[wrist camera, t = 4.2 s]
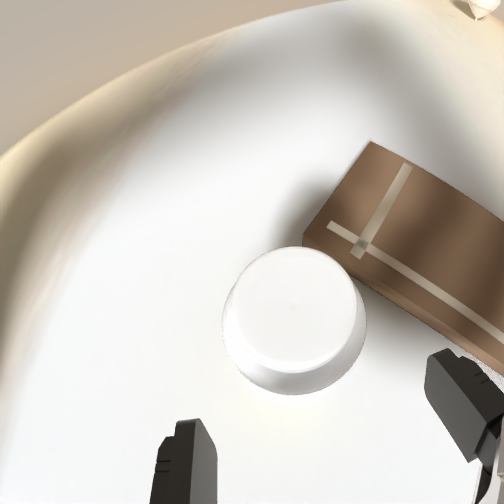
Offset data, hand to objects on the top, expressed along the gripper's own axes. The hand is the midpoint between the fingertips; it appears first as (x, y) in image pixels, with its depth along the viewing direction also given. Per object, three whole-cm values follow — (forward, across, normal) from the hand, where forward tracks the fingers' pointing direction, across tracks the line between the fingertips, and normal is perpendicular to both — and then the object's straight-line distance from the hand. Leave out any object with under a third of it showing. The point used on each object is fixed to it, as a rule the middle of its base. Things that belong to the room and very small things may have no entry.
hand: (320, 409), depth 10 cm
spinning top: (+39, -51, -27) cm, 70 cm away
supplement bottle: (+9, 0, +4) cm, 9 cm away
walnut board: (+9, -14, +4) cm, 17 cm away
